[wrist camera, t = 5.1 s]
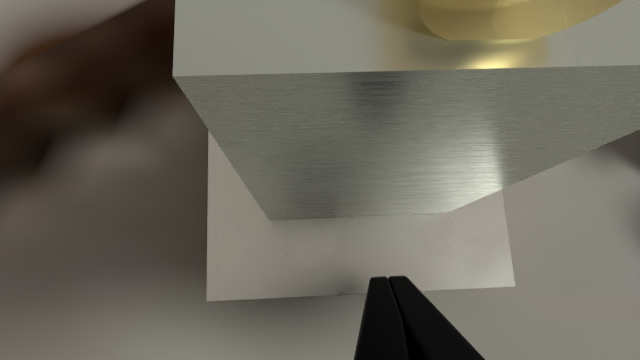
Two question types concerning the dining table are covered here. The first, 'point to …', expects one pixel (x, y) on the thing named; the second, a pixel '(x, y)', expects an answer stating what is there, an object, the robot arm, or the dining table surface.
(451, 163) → the brushed metal block
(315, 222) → the gray rectangular block
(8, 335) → the dining table surface
